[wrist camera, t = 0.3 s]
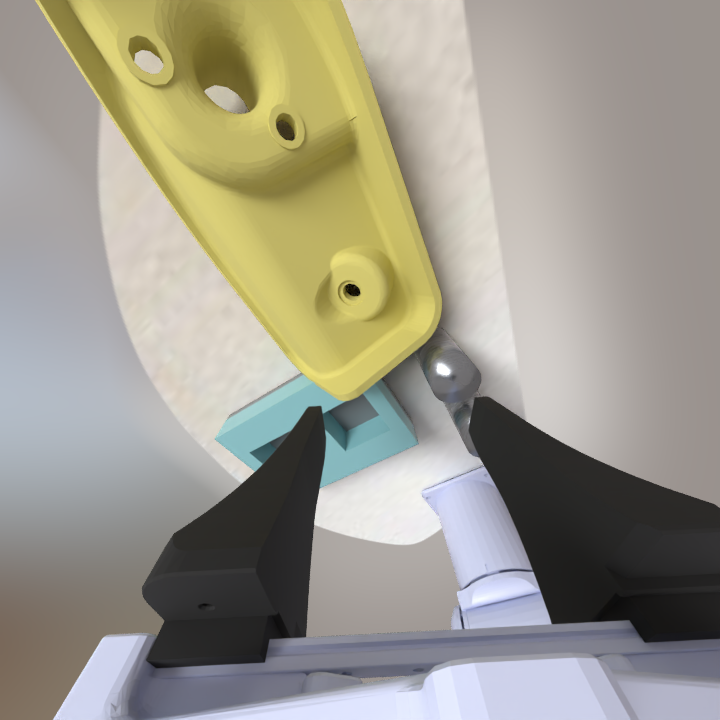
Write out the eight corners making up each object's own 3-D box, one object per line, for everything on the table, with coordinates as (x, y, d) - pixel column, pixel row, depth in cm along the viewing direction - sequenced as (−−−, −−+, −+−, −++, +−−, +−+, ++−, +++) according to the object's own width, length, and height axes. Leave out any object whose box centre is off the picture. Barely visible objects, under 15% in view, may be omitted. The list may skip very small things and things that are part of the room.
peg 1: (454, 348, 21) (487, 389, 16) (421, 365, 22) (443, 410, 17) (439, 319, 20) (470, 353, 15) (405, 338, 21) (423, 377, 16)
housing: (411, 420, 25) (418, 443, 22) (297, 474, 28) (291, 500, 26) (356, 340, 21) (356, 357, 18) (229, 415, 24) (214, 439, 21)
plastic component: (450, 322, 17) (332, 418, 15) (390, 307, 24) (300, 374, 22) (265, -240, 7) (-137, -173, 5) (246, -8, 14) (55, 62, 12)
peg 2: (479, 397, 24) (514, 446, 19) (448, 411, 25) (475, 462, 19) (467, 373, 23) (502, 420, 17) (436, 389, 23) (460, 438, 18)
